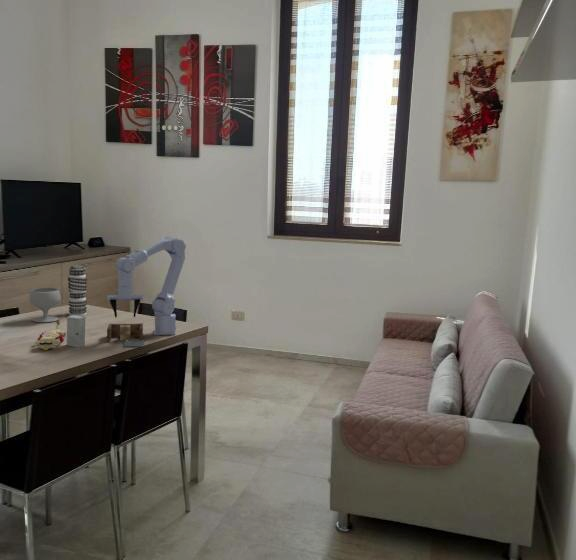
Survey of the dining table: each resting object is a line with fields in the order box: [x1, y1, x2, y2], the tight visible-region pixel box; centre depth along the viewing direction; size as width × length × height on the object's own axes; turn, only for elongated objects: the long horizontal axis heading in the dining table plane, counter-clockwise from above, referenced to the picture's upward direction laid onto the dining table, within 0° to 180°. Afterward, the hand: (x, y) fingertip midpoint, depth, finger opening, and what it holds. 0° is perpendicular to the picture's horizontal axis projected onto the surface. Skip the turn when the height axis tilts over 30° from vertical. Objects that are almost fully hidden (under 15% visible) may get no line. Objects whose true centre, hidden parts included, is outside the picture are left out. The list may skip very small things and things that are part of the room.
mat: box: [123, 340, 145, 349], centre depth 231 cm, size 8×8×1 cm
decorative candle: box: [67, 264, 88, 317], centre depth 280 cm, size 9×9×25 cm
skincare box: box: [66, 315, 86, 348], centre depth 226 cm, size 6×4×12 cm
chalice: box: [28, 287, 62, 323], centre depth 265 cm, size 14×14×15 cm
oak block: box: [119, 325, 131, 342], centre depth 239 cm, size 4×4×6 cm
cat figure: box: [34, 318, 67, 351], centre depth 228 cm, size 10×9×25 cm
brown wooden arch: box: [106, 322, 144, 343], centre depth 240 cm, size 14×10×6 cm
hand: (125, 316), depth 238 cm, fingers open, 7 cm apart
